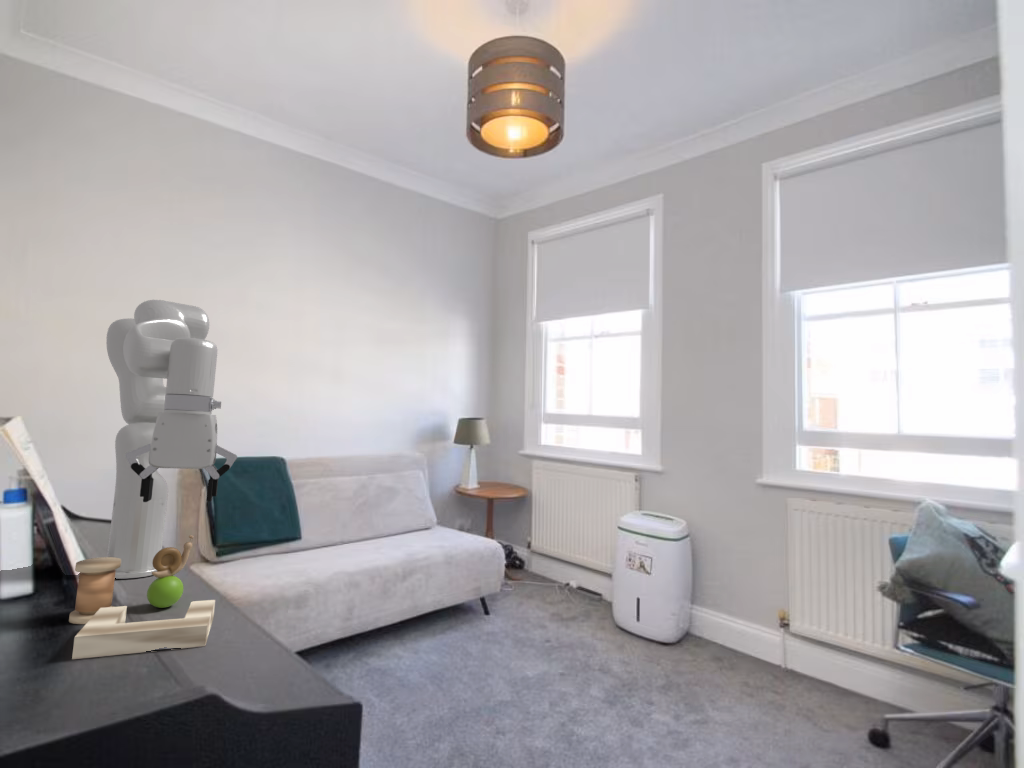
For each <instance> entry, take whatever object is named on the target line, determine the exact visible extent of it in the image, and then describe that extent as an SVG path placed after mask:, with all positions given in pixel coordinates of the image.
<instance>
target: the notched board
mask: <svg viewBox="0 0 1024 768" xmlns="http://www.w3.org/2000/svg"><path fill="white" fill-rule="evenodd" d="M215 607H216V599H207V600H195V601H194V600H193V601H191V602H190V605H189V607H188V609H187V610H186V611H187V612H186V613H185V615H184V617H183V618H169V619H168V618H167V619H160V620H159V619H158V620H147V621H146V620H143V621H131V622H126V617H127V608H128V606H127V605H124V606H123V605H121V606H114V607H105V608H100V609H99V610H98V611H97V612H96V613H95V615H94V616H93V617H92V618H91V619H90V620H89V621H88V622H87V624H84V626H83V627H82V628H80V630H79V631H78V632H77V633H76V635H75V636H74V638H73V649H72V656H71V657H72V658H71V660H80V659H89V658H90V659H91V658H98V657H99V658H100V657H112V656H119V655H121V656H122V655H128V654H139V653H140V654H141V653H147V652H146V651H151V650H155V649H159V648H164V647H167V648H181V649H187V648H188V649H189V648H190V649H191V648H198V647H206V644H207V641H208V638H209V634H210V630H211V629H212V624H213V622H214V616H215V609H216V608H215ZM151 652H152V651H151Z"/></svg>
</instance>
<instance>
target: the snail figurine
mask: <svg viewBox="0 0 1024 768" xmlns="http://www.w3.org/2000/svg"><path fill="white" fill-rule="evenodd" d="M194 537H195V536H194V535H191V534H190V535H189V536H188V538H189V541H186V542H185V543H184V544H183V551H182V553H181V551H180V550H179V549H178V548H176V547H171V546H169V547H164V548H162V550H160V551H159V552H157V554H156V555H155V556H154V558H153V562H152V564H153V567H154V569H156V570H157V571H155V572H152V574H153V575H152V576H154V577H156V579H154V580H153V581H152V582H151V583H150V585H149V586H148V588H147V592H146V598H147V601H148V603H149V604H150V605H151V606H153V607H154V608H159V609H165V608H169V607H172V606H173V605H175V604H176V603H177V602H179V600H180V599H181V598H182V596H183V593H184V583H183V581H182V580H181V579H180V578H179V577H177V576H175V575H176V574H178V573H180V571H182V570H183V569H184V567H185V565H186V564H187V562H188V559H189V556H190V552H191V550H192V548H193V541H192V540H193V539H194Z"/></svg>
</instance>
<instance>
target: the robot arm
mask: <svg viewBox="0 0 1024 768" xmlns="http://www.w3.org/2000/svg"><path fill="white" fill-rule="evenodd" d="M209 330H210V319H209V317H208V314H207V312H206V311H205V310H203V308H200V307H199V306H196V305H195V306H194V305H190V304H185V303H180V302H173V301H170V300H169V301H167V300H161V299H149V300H146V301H145V300H144V301H142V302H141V303H139V304H138V305H137V306H136V308H135V310H134V313H133V318H120V319H117V320H115V321H113V322H112V323H111V324H110V325H109V327H108V328H107V332H106V351H107V356H108V360H109V362H110V364H111V367H112V368H113V370H114V372H115V373H116V376H117V379H118V384H119V398H120V401H119V403H120V412H121V415H122V418H123V421H124V422H125V423H126V425H124V426H123V427H121V428H120V429H119V430H118V432H117V433H116V435H115V436H116V437H115V441H114V443H115V444H114V447H115V448H114V449H115V464H116V465H115V466H116V467H115V468H116V474H115V486H114V487H115V488H114V495H113V504H112V513H111V523H110V530H109V539H108V548H107V556H106V557H115V558H120V559H121V566H120V567H119V568H117V569H115V570H116V572H115V578H116V579H115V580H118V579H119V580H123V579H124V580H125V579H138V578H143V577H149V576H154V575H153V574H152V572H155V571H157V570H156V569H154V567H153V564H152V562H153V558H154V556H155V555H156V554H157V552H159V551H160V550H162V549H163V542H164V533H165V527H166V526H165V522H166V515H167V507H168V496H169V485H168V483H167V481H166V480H165V478H164V477H163V475H161V474H160V472H159V471H158V469H179V470H180V469H189V470H192V469H193V470H195V469H196V470H197V469H204V470H205V471H206V473H208V475H209V476H210V478H209V479H208V480H207V490H206V491H207V493H206V499H205V500H206V502H212V501H213V499H214V498H213V497H217V495H218V485H219V479H220V478H221V476H223V475H225V473H227V472H228V471H229V470H230V469H231V467H232V466H233V464H234V462H236V460H237V459H238V455H237V454H236V453H234V452H232V451H230V450H227V449H225V448H224V447H222V446H219V445H218V420H217V419H218V418H217V415H216V414H212V412H213V411H214V410H216V409H222V401H219V400H218V401H217V400H215V399H214V391H215V390H214V389H215V381H216V371H217V362H218V361H217V360H218V359H217V358H218V347H217V345H216V344H215V343H214V342H213V341H211V340H206V339H207V337H208V334H209V332H210V331H209ZM164 379H166V386H164V385H165V384H164ZM217 454H218V456H219V455H220V456H221V457H223V458H225V459H226V461H225V463H224V464H223V465H222V466H221V467H220V468H219V469H218V468H217V467H216V466H215V465H214V464H215V463H216V460H217Z"/></svg>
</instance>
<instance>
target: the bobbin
mask: <svg viewBox="0 0 1024 768" xmlns="http://www.w3.org/2000/svg"><path fill="white" fill-rule="evenodd" d="M120 566H121V559H120V558H115V557H107V556H102V557H93V558H86V559H81V560H79V561H77V562H76V563H75V568H74V571H75V572H77V573H79V574H78V580H77V581H78V583H77V587H76V588H77V590H76V598H75V605H74V610H73V611H71V612H70V613H69V617H68V622H69V623H70V624H73V625H86V624H87V622H88V621H89V620H90V619H91V618H92V617H93V616H94V615H95V613H96V612H97V611H98V610H99V609H100V608H105V607H115V606H114V605H112V604H113V597H114V588H115V580H116V579H115V572H116V570H115V569H117V568H119V567H120Z"/></svg>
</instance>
